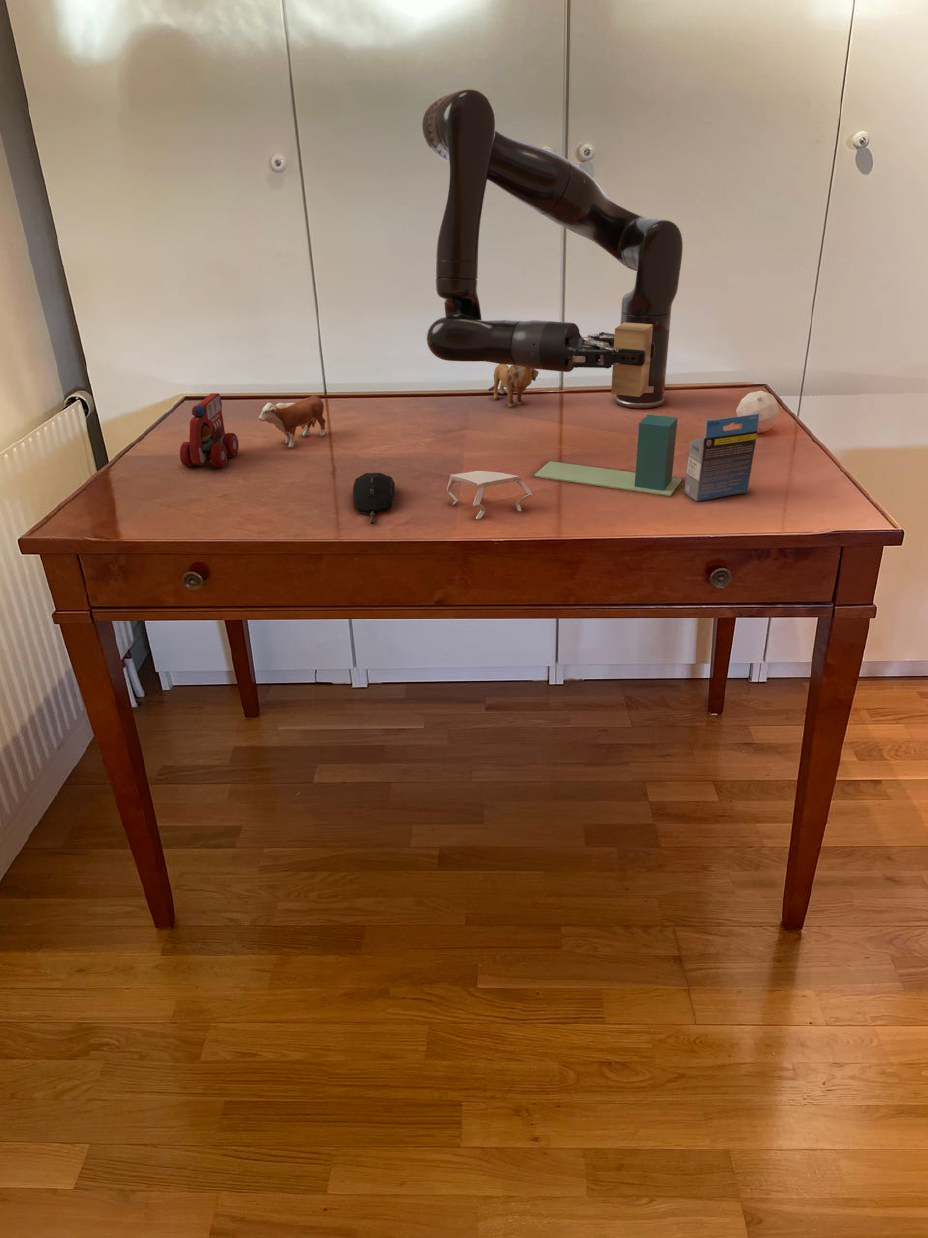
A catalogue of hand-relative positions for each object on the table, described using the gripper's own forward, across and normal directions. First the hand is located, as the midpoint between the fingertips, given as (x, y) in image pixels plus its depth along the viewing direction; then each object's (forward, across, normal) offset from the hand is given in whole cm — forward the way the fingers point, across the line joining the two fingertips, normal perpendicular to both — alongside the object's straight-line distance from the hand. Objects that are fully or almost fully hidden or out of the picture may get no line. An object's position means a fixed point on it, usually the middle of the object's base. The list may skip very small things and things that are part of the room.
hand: (649, 354), depth 135 cm
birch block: (-3, 0, +6) cm, 7 cm away
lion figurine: (-34, +26, +18) cm, 46 cm away
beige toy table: (-15, -26, +18) cm, 35 cm away
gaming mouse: (-32, -31, +18) cm, 48 cm away
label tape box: (+14, -8, +18) cm, 24 cm away
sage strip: (-3, -8, +18) cm, 20 cm away
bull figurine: (-60, -11, +18) cm, 64 cm away
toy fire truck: (-68, -25, +18) cm, 75 cm away
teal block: (+4, -8, +17) cm, 20 cm away
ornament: (+14, +24, +18) cm, 33 cm away
